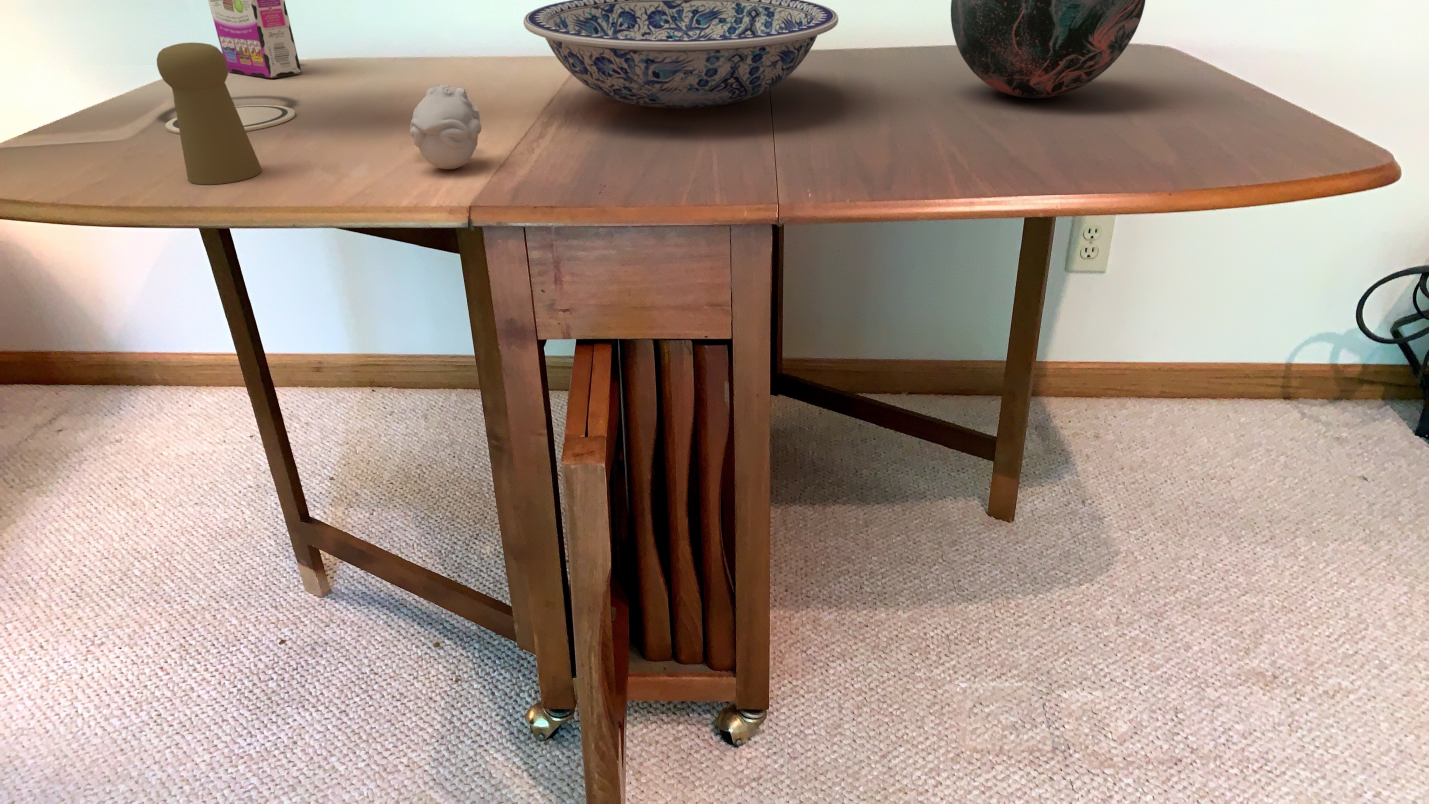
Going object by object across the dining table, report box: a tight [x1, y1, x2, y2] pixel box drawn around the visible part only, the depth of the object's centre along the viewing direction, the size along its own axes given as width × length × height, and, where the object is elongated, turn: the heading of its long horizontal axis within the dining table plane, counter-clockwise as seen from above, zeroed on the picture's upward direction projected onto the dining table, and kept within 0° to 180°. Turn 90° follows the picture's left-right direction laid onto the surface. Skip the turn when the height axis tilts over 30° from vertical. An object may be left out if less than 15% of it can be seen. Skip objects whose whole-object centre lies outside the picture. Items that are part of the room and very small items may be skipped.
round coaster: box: [165, 104, 296, 135], centre depth 98 cm, size 13×13×1 cm
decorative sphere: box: [950, 0, 1146, 99], centre depth 97 cm, size 20×20×20 cm
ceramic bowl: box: [523, 0, 839, 109], centre depth 100 cm, size 34×34×10 cm
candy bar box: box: [207, 0, 302, 79], centre depth 119 cm, size 11×5×16 cm, turn 55°
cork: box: [156, 42, 263, 185], centre depth 77 cm, size 6×6×11 cm
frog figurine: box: [409, 84, 482, 170], centre depth 79 cm, size 6×7×7 cm
